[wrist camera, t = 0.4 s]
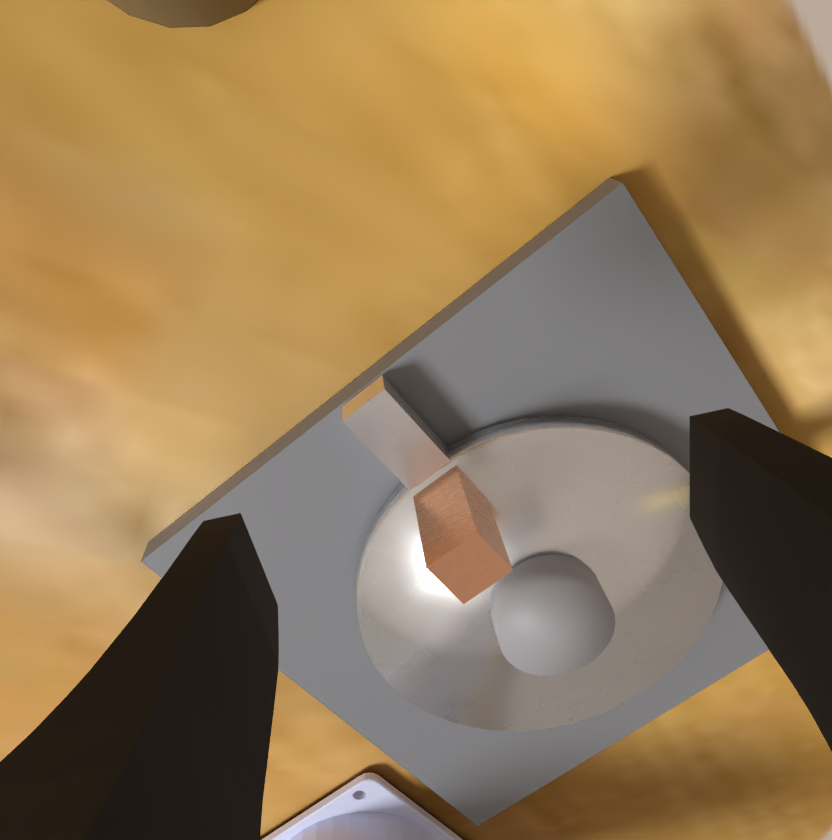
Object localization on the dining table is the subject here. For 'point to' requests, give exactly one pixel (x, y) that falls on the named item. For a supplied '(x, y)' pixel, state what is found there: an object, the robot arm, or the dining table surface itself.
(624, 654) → the flange plate
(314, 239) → the dining table surface
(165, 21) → the cork
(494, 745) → the turntable base
